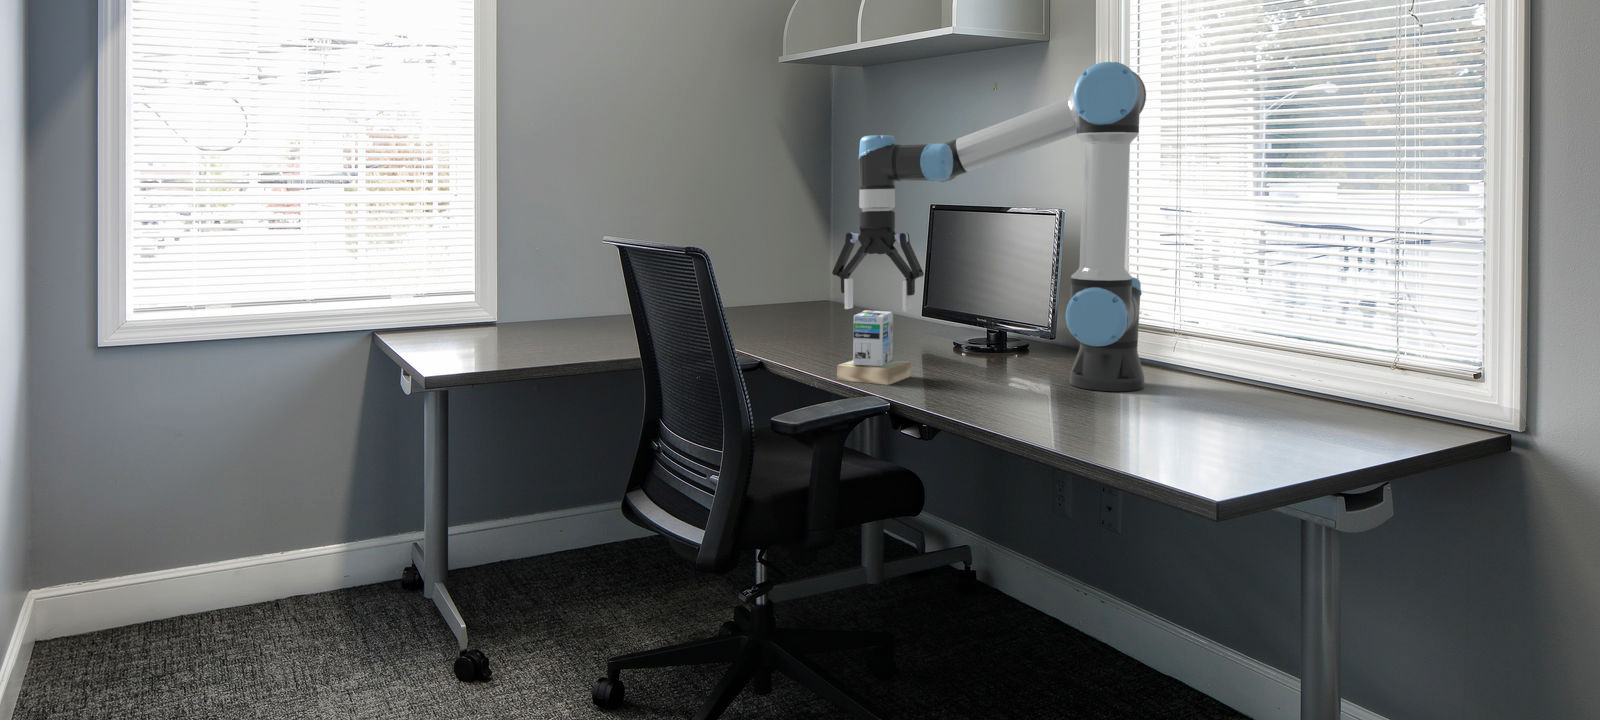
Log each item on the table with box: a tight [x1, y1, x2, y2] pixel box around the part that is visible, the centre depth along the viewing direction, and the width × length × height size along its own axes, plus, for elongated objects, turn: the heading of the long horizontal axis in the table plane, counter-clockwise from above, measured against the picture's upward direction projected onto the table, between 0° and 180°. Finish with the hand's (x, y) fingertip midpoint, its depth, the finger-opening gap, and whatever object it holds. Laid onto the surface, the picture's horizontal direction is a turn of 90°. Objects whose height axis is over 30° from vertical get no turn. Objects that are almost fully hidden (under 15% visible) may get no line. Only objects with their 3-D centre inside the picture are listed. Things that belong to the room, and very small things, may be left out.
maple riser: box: [836, 359, 912, 386], centre depth 242 cm, size 12×12×3 cm
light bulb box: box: [852, 309, 894, 366], centre depth 241 cm, size 11×7×11 cm, turn 164°
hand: (877, 309), depth 240 cm, fingers open, 13 cm apart
